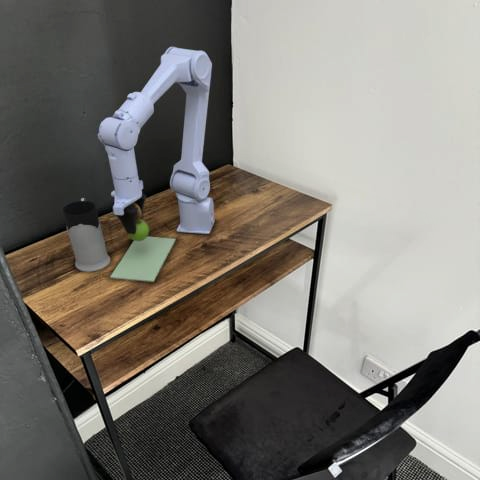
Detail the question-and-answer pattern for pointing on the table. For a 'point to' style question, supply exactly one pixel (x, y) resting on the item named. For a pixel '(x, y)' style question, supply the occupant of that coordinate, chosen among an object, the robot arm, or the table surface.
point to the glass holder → (86, 235)
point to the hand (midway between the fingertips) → (134, 228)
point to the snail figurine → (139, 226)
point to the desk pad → (143, 259)
